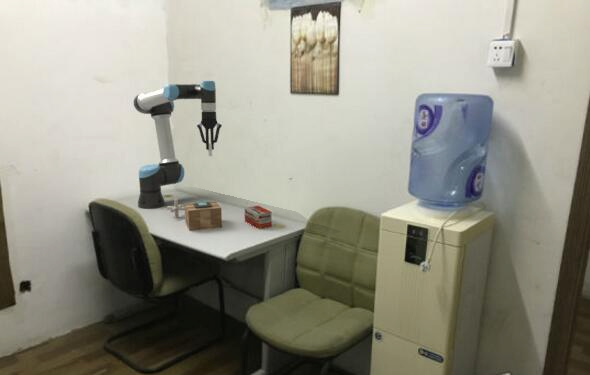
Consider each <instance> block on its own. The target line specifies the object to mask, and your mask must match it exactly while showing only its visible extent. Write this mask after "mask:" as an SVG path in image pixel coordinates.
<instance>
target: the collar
mask: <svg viewBox="0 0 590 375" xmlns="http://www.w3.org/2000/svg"><path fill="white" fill-rule="evenodd" d="M210 202H211V201H205V202H202V201H201V202H200V203H207V205H205V206H198V203H199V202H192V203H193V205H194V206H195V208H196V209H198V208H209V207H212V205H211V204H210Z"/></svg>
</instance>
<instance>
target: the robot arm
mask: <svg viewBox="0 0 590 375" xmlns="http://www.w3.org/2000/svg"><path fill="white" fill-rule="evenodd" d="M216 89H217V88H216V82H215V80H201V81H200V84H197V83H195V84H193V83H192V84H191V83H190V84H177V83H176V84H174V83H169V84H165V85H164V87H163V88H160V89H157V90H154V91H151V92H148V93H146V92H143V93H140V94H137V95H136V96H135V97H134V99H133V106H134V109H135V110H136V111H137V112H139V113H140V114H144V115H150V117H151V118H152V119H153V121H154V127H155V131H156V139H157V146H158V150H159V157H160V161H159V162H158V164H156V163H155V164H154V163H153V164H146V165H143V166H141V167H140V168H139V169H138V181H139V196H138V198H137V199H138V200H137V207H138V208H141V209H156V208H157V209H158V208H161V207H163V206H165V205H166V202H165V201H166V200H165V198H164V195H163V194H162V188H161V187H163V186H168V185H176V184H180V183H181V182H182V181H183V180H184V177H185V168H184V166H183V164H182V163H180V161H179V160H178V159H177V158H176V153H175V148H174V140H173V134H172V128H171V127H172V126H171V122H170V118H171V117H172V113H173V112H174V110H175V109H174V108H175V104H174V101H177V100H200V102H201V105H200V106H201V108H200V109H201V121H200V123H199V124H197V125H196V128H197V129H198V131H199V135H200V137H201V141H202V143H204V144H205V149H206V150H207V151H208V152H207V153H208V154H207V155H208V156H209V157H213V151H214V149H215V146H214V145H215V143H218V139H219V134H220V129H221V128H222V124H221V123H219V122H218V121H217V120H218V119H217V112H216V111H217V101H216V100H217V98H216V97H217V96H216V95H217V94H216V93H217V92H216V91H217V90H216ZM215 127H216V129H215ZM203 128H204V130H205V135H204V131H203ZM214 129H215V132H214ZM209 132H210V133H209ZM214 133H215V135H214ZM209 134H210V135H209Z"/></svg>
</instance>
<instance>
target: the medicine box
mask: <svg viewBox="0 0 590 375" xmlns="http://www.w3.org/2000/svg"><path fill="white" fill-rule="evenodd" d="M272 213H273V212H272V211H271V210H269V209H266V208H265V207H262V206H260V205H253V206H248V207H244V223H246V222H247V224H248V223H249V224H248V225H250V224H251V225H250V226H252V227H253V226H254V227H253V228H255V227H256V228H255V229H257V228H262V229H266V228H265V227H267V228H272V221H273V219H272Z"/></svg>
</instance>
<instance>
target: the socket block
mask: <svg viewBox="0 0 590 375" xmlns="http://www.w3.org/2000/svg"><path fill="white" fill-rule="evenodd" d="M209 202H210V204H211V205H212V207H209V208H198V209H196V208H195V206H194V205H193V203H194V202H192V203H191V202H189V203H184V207H185V210H184V215H185V216H184V217H185V218H184V219H185V222H184V223H185V225H186V227H187V229H188V231H199V230H208V229H209V230H210V229H219V228H220V229H221V228H222V227H223V222H222V220H223V219H222V217H223V216H222V207H221V206H220V204H218V202H217V201H214V200H213V201H209Z"/></svg>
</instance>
